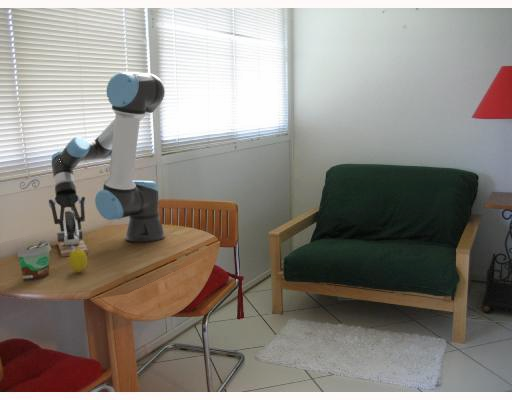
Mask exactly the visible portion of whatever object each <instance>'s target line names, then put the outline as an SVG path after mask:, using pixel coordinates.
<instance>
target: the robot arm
mask: <svg viewBox="0 0 512 400" xmlns="http://www.w3.org/2000/svg"><path fill="white" fill-rule="evenodd" d="M165 92H166V91H165V86H164V83H163V82H162V80H161V79H160V78H159V76H157V75H155V74H153V73H148V72H146V73H145V72H143V73H141V72H130V71H125V72H117V73H115V74H114V75H113V76H112V77H111V78H110V79H109V81H108V82H107V86H106V97H107V99H108V102H109V103H110V104H111V110H112V111H113V112H114V114H115V117H114V119H113V120H112V121H111V122H110V123H109V124H108V126H107V127H106V128H104V130H103V131H102V132H101V133H100V134H99V135H98V137H96V138H95V139H94V140H87V139H85V138H84V137H80V136H75V137H73V138H72V139H71V140H70V141H69V142H68V143H67V145H66V146H65V148H64V149H63V150H60V151H57V152H54V153H53V154H52V156H51V170H52V176H53V184H54V192H55V197H54V199H49V200H48V205H49V207H50V209H51V213H52V218H53V223H54V225H57V224H58V225H59V227H60V228H59V229H60V232H64V236H65V240H67V231H66V220H64V218H65V209H66V208H70V209H71V210H70V211H74V219H75V231H76V235H77V239H79V230H82V222H85V221H86V218H85V217H86V215H85V212H86V211H85V203H86V197H84V196H82V197H80V196H79V195H78V194H77V189H76V183H75V182H76V181H75V176H74V169H75V168H76V167H77V166H78V165H79V163H80V162H86V161H92V160H101V159H103V160H104V159H107V158H110V162H109V164H110V165H109V172H108V173H109V174H108V178H107V179H105V180H104V181H103V186H102V187H103V188H102V189H101V190H99V191H98V192H97V193H96V195H95V198H94V203H95V208H96V209H97V211H98V213H99V214H100V216H101V217H103V218H104V219H105V220H107V221H114V220H115V221H116V220H121V219H123V218H127V217H129V218H128V219H129V220H128V224H127V229H126V232H125V238H126V241H128V242H134V243H135V242H136V243H144V242H145V243H147V242H154V241H158V240H161V239H163V238H164V237H165V235H166V234H165V229H164V228H163V224H162V221H161V219H160V211H159V210H160V205H159V190H158V183H157V182H155V181H153V180H138V179H137V180H134V171H135V163H136V154H137V146H138V140H139V139H138V137H139V129H140V122H141V121H142V120H143V119H144V118H145V116H147V115H148V114H152V113H153V112H155V110H157V109H158V107H159V106H160V105H161V104H162V102H163V100H164V98H165ZM59 159H60V160H59ZM60 161H61V162H60ZM77 202H78V203H79V206H80V215H79V212H78V210H77V207H76V204H77ZM56 203H57V205H59V207H60V211H59V218H58V213H57V210H56Z"/></svg>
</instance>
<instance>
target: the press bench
mask: <svg viewBox="0 0 512 400" xmlns="http://www.w3.org/2000/svg"><path fill="white" fill-rule="evenodd" d="M56 234H57V244H58V245H57V246H58V248H59V253H60V257H62V258H65V257H69V256H70V254H71V252H72V251H74V250H76V248H78V249H80V250H83V251H84V252H85V253H86V255H88V254H89V251H88V247H87V245H86V244H85V241H84V238H83V230H82V229H81V230H79V242H80V244H75V245H66V246H65V243H64V237H65V236H64V231H63V232H61V231H60V232H57V233H56ZM76 236H77V235H76Z"/></svg>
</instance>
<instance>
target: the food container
mask: <svg viewBox="0 0 512 400" xmlns="http://www.w3.org/2000/svg"><path fill="white" fill-rule="evenodd" d="M51 250H52V248H51V245H50V243H49V242H48V241H45V240H39V243H38V244H36V245H31V246H29V247H27V248H25V249H18V251H17V258H19V263H20V268H21V274H22V280H23V281H24V282H25V281H29V282H30V281H36V280H41V279H44V278H46V277H48V276H49V275H50V251H51Z"/></svg>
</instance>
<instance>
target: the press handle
mask: <svg viewBox="0 0 512 400" xmlns="http://www.w3.org/2000/svg"><path fill="white" fill-rule="evenodd" d="M64 218H65V220H64V221H65V223H66V231H67V240H65V237H64V243H65V246H66V245H75V244H80V242H79V239H77V236H76V228H75V220H76V219H75V217H74V211H72V210H67V211H64Z"/></svg>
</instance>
